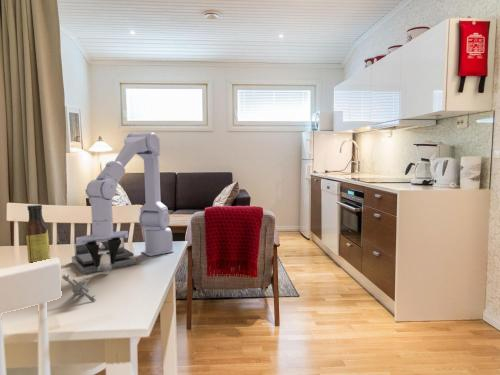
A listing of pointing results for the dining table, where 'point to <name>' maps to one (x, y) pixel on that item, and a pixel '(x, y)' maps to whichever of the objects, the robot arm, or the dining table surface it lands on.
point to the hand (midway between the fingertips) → (104, 264)
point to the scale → (102, 247)
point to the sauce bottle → (37, 235)
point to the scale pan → (88, 258)
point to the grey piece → (79, 287)
